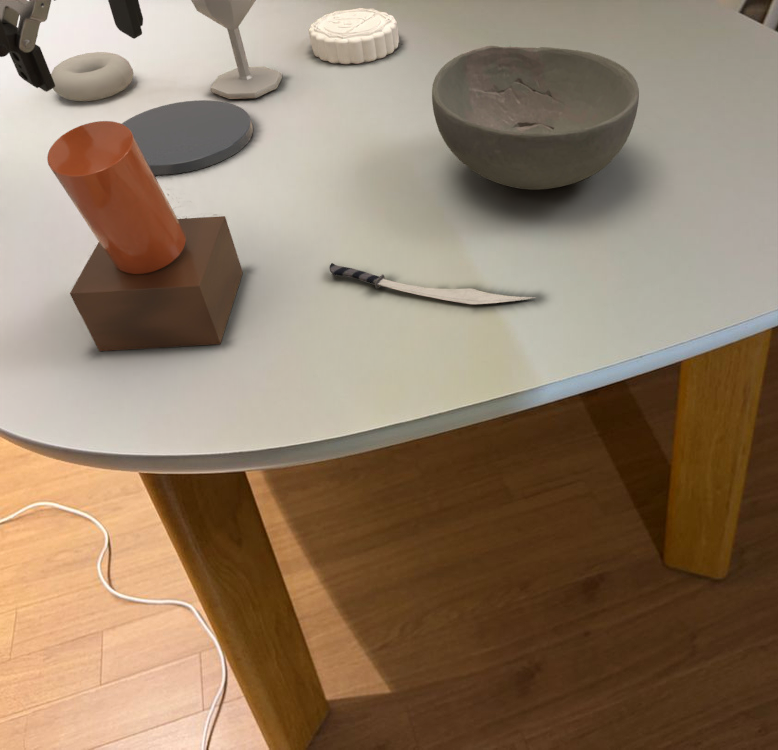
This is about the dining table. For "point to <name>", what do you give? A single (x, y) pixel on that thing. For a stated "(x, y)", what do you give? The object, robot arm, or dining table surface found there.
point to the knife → (445, 294)
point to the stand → (163, 293)
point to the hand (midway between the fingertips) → (87, 58)
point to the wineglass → (237, 52)
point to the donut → (92, 76)
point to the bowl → (534, 113)
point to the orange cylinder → (118, 196)
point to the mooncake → (354, 36)
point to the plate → (190, 134)
